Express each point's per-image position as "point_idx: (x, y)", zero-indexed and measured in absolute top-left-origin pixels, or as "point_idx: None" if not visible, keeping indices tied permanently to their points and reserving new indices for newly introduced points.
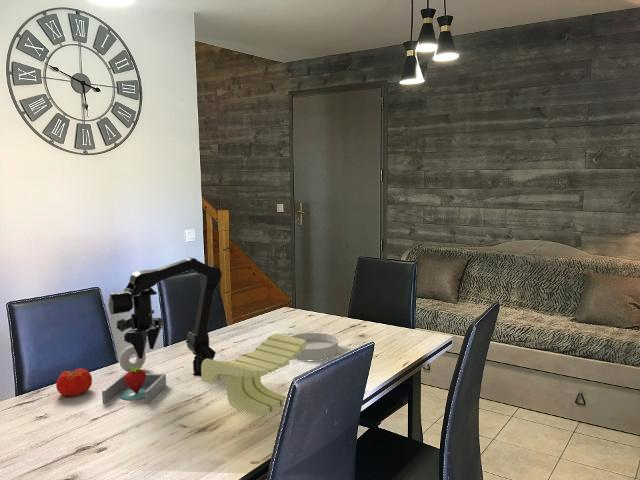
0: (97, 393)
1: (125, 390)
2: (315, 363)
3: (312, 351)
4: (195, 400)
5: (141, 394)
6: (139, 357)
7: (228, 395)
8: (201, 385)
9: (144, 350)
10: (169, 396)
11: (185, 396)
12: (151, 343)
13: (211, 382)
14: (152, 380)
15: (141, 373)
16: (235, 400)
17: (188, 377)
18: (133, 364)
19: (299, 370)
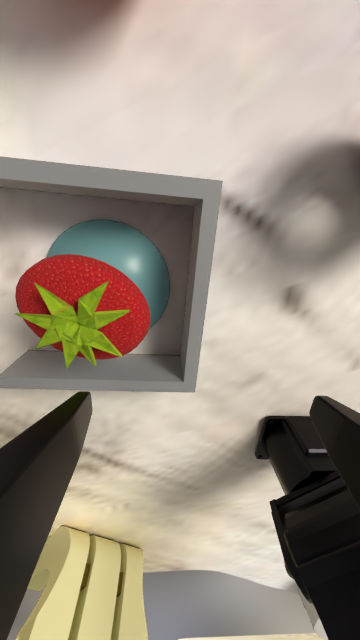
0: (98, 73)
1: (131, 230)
2: (284, 587)
3: (311, 616)
4: (80, 463)
5: None
6: (73, 401)
7: (68, 544)
8: (183, 451)
9: (53, 509)
10: (99, 399)
11: (103, 436)
12: (350, 453)
13: None
14: (185, 333)
15: (78, 356)
16: (58, 547)
17: (251, 406)
18: None
19: (252, 576)
